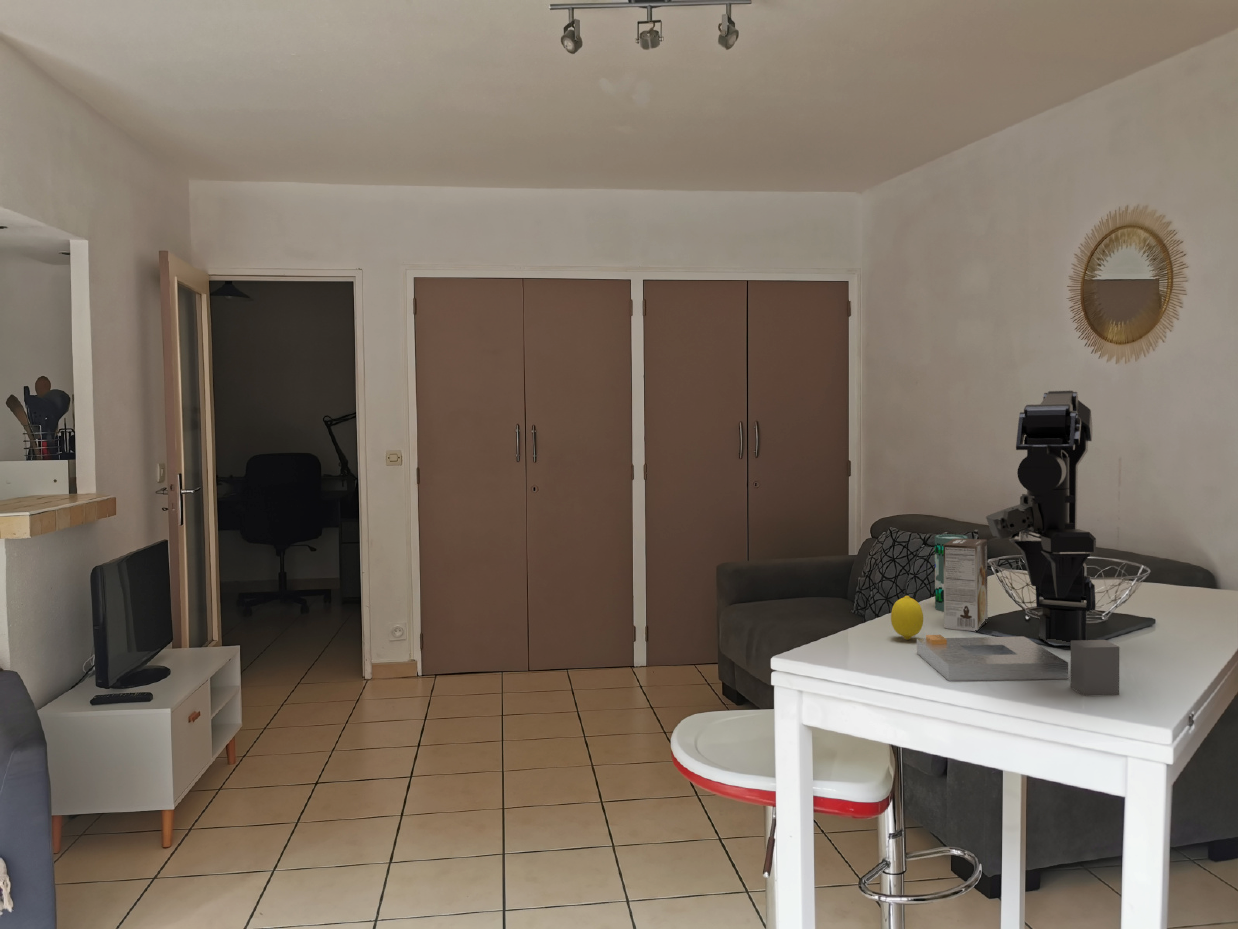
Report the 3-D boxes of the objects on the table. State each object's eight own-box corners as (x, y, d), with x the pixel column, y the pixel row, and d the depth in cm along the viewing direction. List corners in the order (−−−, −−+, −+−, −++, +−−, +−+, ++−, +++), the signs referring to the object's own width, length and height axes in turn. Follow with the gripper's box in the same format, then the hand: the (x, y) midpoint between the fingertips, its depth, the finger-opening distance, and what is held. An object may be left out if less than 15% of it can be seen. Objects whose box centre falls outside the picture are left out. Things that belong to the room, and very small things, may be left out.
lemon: (925, 644, 160) (925, 599, 159) (892, 643, 161) (892, 598, 161) (921, 636, 165) (921, 592, 165) (889, 635, 166) (889, 592, 166)
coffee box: (953, 618, 178) (953, 537, 177) (988, 622, 175) (988, 539, 174) (943, 628, 171) (942, 543, 170) (979, 632, 167) (978, 545, 166)
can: (941, 604, 191) (940, 533, 190) (971, 607, 187) (970, 535, 187) (932, 610, 186) (931, 537, 185) (962, 613, 182) (962, 539, 182)
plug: (1105, 686, 134) (1105, 639, 133) (1119, 695, 130) (1119, 646, 129) (1070, 687, 134) (1070, 640, 133) (1083, 696, 130) (1083, 647, 129)
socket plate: (1023, 651, 154) (1023, 631, 154) (1068, 678, 138) (1068, 657, 138) (916, 653, 154) (916, 633, 154) (948, 681, 138) (948, 659, 138)
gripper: (972, 484, 145) (972, 581, 146) (1015, 494, 127) (1015, 605, 128) (1043, 483, 145) (1043, 580, 145) (1098, 492, 126) (1097, 604, 127)
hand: (1047, 591), depth 136 cm, fingers open, 9 cm apart
